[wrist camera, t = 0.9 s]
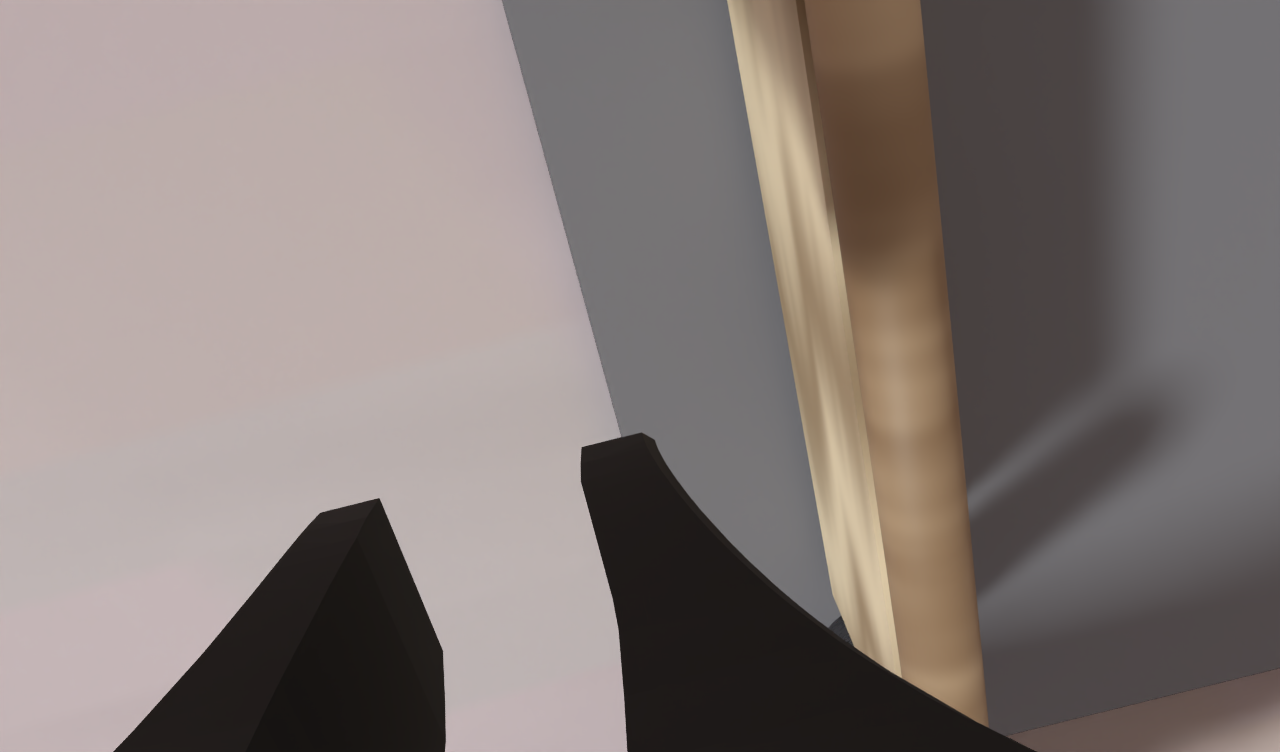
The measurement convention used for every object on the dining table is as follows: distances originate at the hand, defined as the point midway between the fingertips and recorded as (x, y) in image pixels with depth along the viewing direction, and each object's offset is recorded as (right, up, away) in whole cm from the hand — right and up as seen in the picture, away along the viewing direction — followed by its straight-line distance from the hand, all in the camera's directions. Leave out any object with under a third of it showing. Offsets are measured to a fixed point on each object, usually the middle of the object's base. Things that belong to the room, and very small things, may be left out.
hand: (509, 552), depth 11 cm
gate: (+4, +4, +8) cm, 10 cm away
